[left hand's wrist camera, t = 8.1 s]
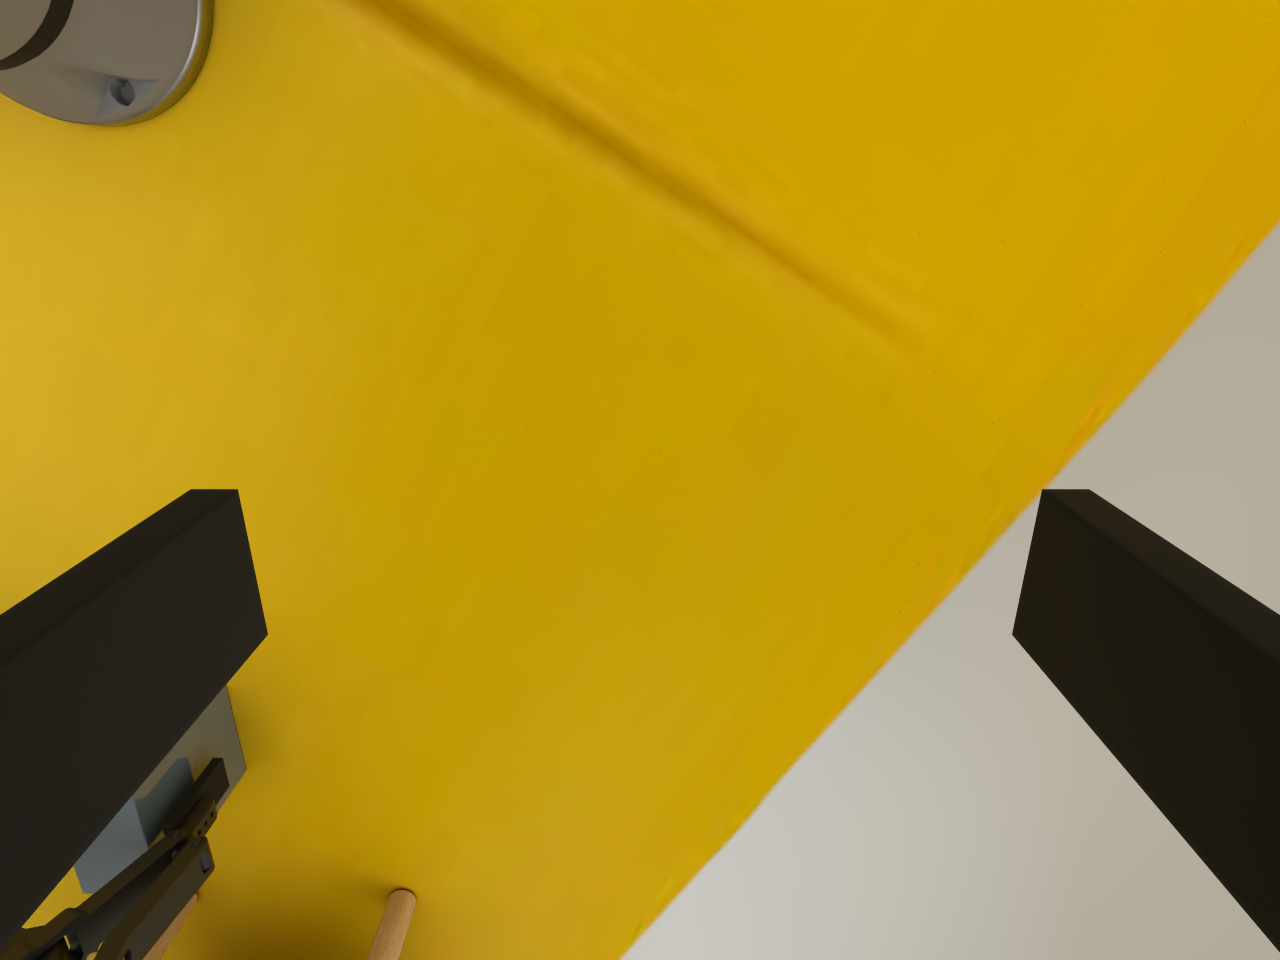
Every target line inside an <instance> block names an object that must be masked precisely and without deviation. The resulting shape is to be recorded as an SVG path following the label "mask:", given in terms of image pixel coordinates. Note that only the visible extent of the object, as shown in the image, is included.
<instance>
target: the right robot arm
mask: <svg viewBox="0 0 1280 960" xmlns="http://www.w3.org/2000/svg"><path fill="white" fill-rule="evenodd" d="M229 786H230V784H229V780H228V776H227V772H226V768H225V764H224V760H223V758H212V760H211V761H210V762H209V764H208V765H207V766H206V768H205V769H204V770H203V772H202V773H201V774H200V776H199V777H198V778H197V779H196V781H195V782H194V783H193V785H192V786H191V787H190V789H189V790H188V791H187V793H186V794H185V795H184V797H183V798H182V799H181V801H180V802H179V803H178V805H177V806H176V807H175V809H174V810H173V811H172V813H171V814H170V815H169V817H168V818H167V819H166V821H165V822H164V823H163V824H162V829H163V832H164V835H165V837H163V838H162V839H161V840H160V841H158V842H157V843H156V844H155V845H153V846H152V847H151V848H150V849H148V850H147V851H146V852H145V853H144V854H142V855H141V856H140V857H139V858H137V859H136V860H135V861H134V862H132V863H131V864H130V865H129V866H128V867H126V868H125V869H124V870H123V871H121V872H120V873H119V874H118V875H116V876H115V877H114V878H113V879H112V880H110V881H109V882H108V883H107V884H105V885H104V886H103V887H102V888H100V889H99V890H98V891H97V892H95V893H94V894H93V895H92V896H91V897H89V898H88V899H87V900H86V901H84V902H83V903H82V904H81V905H79V906H78V907H77V908H67V909H65V910H64V911H62V912H61V913H60V914H58V915H57V916H56V917H55V918H53V919H52V920H51V921H50V922H48V923H47V924H46V925H45V926H38V927H33V928H29V929H24V928H20V929H19V931H18V932H17V933H16V934H15V935H14V937H13V938H12V939H11V940H10V941H9V942H8V944H7V945H6V946H5V947H4V948H3V950H2V951H1V952H0V960H143V959H144V957H145V956H146V955H147V954H148V952H149V951H150V950H151V949H152V947H153V946H154V945H155V943H156V942H157V941H158V940H159V938H160V937H161V936H162V935H163V933H164V932H165V931H166V930H167V928H168V927H169V926H170V925H171V923H172V922H173V921H174V920H175V918H176V917H177V916H178V915H179V913H180V912H181V911H182V909H183V908H184V907H185V906H186V904H187V903H188V902H189V901H190V899H191V898H192V897H193V896H194V894H195V893H196V892H197V891H198V889H199V888H200V887H201V886H202V884H203V883H204V882H205V880H206V879H207V878H208V877H209V875H210V874H211V873H212V872H213V870H214V868H215V865H214V862H213V858H212V854H211V851H210V847H209V843H208V840H207V838H206V837H205V835H206V833H207V832H208V830H209V829H210V827H211V826H212V824H213V823H214V821H215V820H216V818H217V810H216V805H217V804H218V802H219V801H220V799H221V798H222V796H223V795H224V794H225V792H226V791H227V789H228V788H229ZM65 935H66V936H67V939H68V942H69V944H70V950H69V948H68V946H67V943H66V941H65V938H64V936H65ZM104 940H105V941H104ZM103 941H104V942H103ZM102 942H103V943H102ZM101 943H102V945H101V947H100V949H99V950H98V947H99V945H100V944H101ZM97 950H98V952H97Z"/></svg>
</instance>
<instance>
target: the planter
mask: <svg viewBox="0 0 1280 960" xmlns="http://www.w3.org/2000/svg"><path fill="white" fill-rule="evenodd" d="M196 902H197V894H196V893H195V894H194V896H193V897H192V898H191V899H190V901H189V902H188V903H187V904H186V906H185V907H184V908H183V909H182V911H181V912H180V913H179V915H178V916H177V917H176V918H175V920H174V921H173V922H172V923H171V925H170V926H169V927H168V928H167V930H166V931H165V932H164V933H163V935H162V936H161V937H160V938H159V940H158V941H157V942H156V943H155V945H154V946H153V947H152V949H151V950H150V951H149V952H148V954H147V955H146V956H145V957H144V959H143V960H161V958H162V956H163V955H164V953H165V952H166V950H167V948H168V947H169V945H170V944H171V942H172V940H173V939H174V937H175V936H176V934H177V932H178V931H179V929H180V928H181V926H182V924H183V923H184V921H185V920H186V918H187V916H188V915H189V913H190V912H191V910H192V908H193V907H194V905H195V904H196ZM415 905H416V898H415V896H414V895H413V894H412V893H410V892H408V891H406V890H397V891H394V892H393V893H392V894H391V895H390V896H389V899H388V902H387V905H386V907H385V910H384V913H383V916H382V919H381V921H380V924H379V927H378V930H377V933H376V935H375V938H374V941H373V944H372V947H371V949H370V952H369V955H368V958H367V960H398V958H399V955H400V952H401V949H402V946H403V943H404V939H405V936H406V933H407V930H408V927H409V924H410V920H411V917H412V914H413V911H414V908H415Z"/></svg>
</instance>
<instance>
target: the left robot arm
mask: <svg viewBox="0 0 1280 960" xmlns="http://www.w3.org/2000/svg"><path fill="white" fill-rule="evenodd" d="M212 22H213V0H0V93H2V94H4V95H5V96H7V97H9V98H10V99H12V100H14V101H16V102H18V103H20V104H22V105H24V106H26V107H28V108H30V109H32V110H35V111H37V112H40V113H42V114H44V115H47V116H50V117H53V118H56V119H59V120H63V121H68V122H72V123H80V124H88V125H96V126H125V125H131V124H135V123H139V122H142V121H145V120H148V119H151V118H153V117H155V116H157V115H159V114H161V113H162V112H164V111H165V110H167V109H168V108H170V107H171V106H172V105H173V104H175V103H176V102H177V101H178V100H179V99H180V98H181V97H182V96H183V95H184V94H185V93H186V92H187V90H188V89H189V88H190V86H191V85H192V84H193V82H194V80H195V79H196V77H197V75H198V73H199V72H200V69H201V67H202V65H203V62H204V60H205V57H206V54H207V51H208V47H209V43H210V38H211V32H212ZM267 635H268V633H267V628H266V623H265V618H264V613H263V608H262V604H261V599H260V594H259V589H258V584H257V580H256V575H255V570H254V565H253V560H252V555H251V551H250V546H249V541H248V536H247V531H246V527H245V522H244V517H243V512H242V507H241V503H240V498H239V493H238V489H191V490H189V491H188V492H186V493H185V494H183V495H182V496H180V497H178V498H177V499H175V500H174V501H172V502H171V503H169V504H168V505H166V506H165V507H163V508H162V509H160V510H159V511H157V512H156V513H154V514H153V515H151V516H150V517H148V518H147V519H145V520H144V521H142V522H141V523H139V524H138V525H136V526H135V527H133V528H131V529H130V530H128V531H127V532H125V533H124V534H122V535H121V536H119V537H118V538H116V539H115V540H113V541H112V542H110V543H109V544H107V545H106V546H104V547H103V548H101V549H100V550H98V551H97V552H95V553H94V554H92V555H91V556H89V557H88V558H86V559H85V560H83V561H81V562H80V563H78V564H77V565H75V566H74V567H72V568H71V569H69V570H68V571H66V572H65V573H63V574H62V575H60V576H59V577H57V578H56V579H54V580H53V581H51V582H50V583H48V584H47V585H45V586H44V587H42V588H41V589H39V590H38V591H36V592H34V593H33V594H31V595H30V596H28V597H27V598H25V599H24V600H22V601H21V602H19V603H18V604H16V605H15V606H13V607H12V608H10V609H9V610H7V611H6V612H4V613H3V614H1V615H0V952H1V951H2V950H3V948H4V947H5V946H6V945H7V944H8V942H9V941H10V940H11V939H12V938H13V937H14V935H15V934H16V933H17V932H18V931H19V929H20V928H21V927H22V926H23V925H24V923H25V922H26V921H27V920H28V919H29V918H30V916H31V915H32V914H33V913H34V912H35V910H36V909H37V908H38V907H39V906H40V904H41V903H42V902H43V901H44V900H45V899H46V897H47V896H48V895H49V894H50V893H51V891H52V890H53V889H54V888H55V887H56V885H57V884H58V883H59V882H60V881H61V880H62V878H63V877H64V876H65V875H66V874H67V872H68V871H69V870H70V869H71V868H72V866H73V865H74V864H75V863H76V862H77V861H78V859H79V858H80V857H81V856H82V855H83V853H84V852H85V851H86V850H87V849H88V848H89V846H90V845H91V844H92V843H93V842H94V840H95V839H96V838H97V837H98V836H99V834H100V833H101V832H102V831H103V830H104V829H105V827H106V826H107V825H108V824H109V823H110V821H111V820H112V819H113V818H114V817H115V815H116V814H117V813H118V812H119V811H120V810H121V808H122V807H123V806H124V805H125V804H126V802H127V801H128V800H129V799H130V798H131V796H132V795H133V794H134V793H135V792H136V791H137V789H138V788H139V787H140V786H141V785H142V783H143V782H144V781H145V780H146V779H147V777H148V776H149V775H150V774H151V773H152V772H153V770H154V769H155V768H156V767H157V766H158V764H159V763H160V762H161V761H162V760H163V759H164V757H165V756H166V755H167V754H168V753H169V751H170V750H171V749H172V748H173V747H174V745H175V744H176V743H177V742H178V741H179V740H180V738H181V737H182V736H183V735H184V734H185V732H186V731H187V730H188V729H189V728H190V726H191V725H192V724H193V723H194V722H195V721H196V719H197V718H198V717H199V716H200V715H201V713H202V712H203V711H204V710H205V709H206V707H207V706H208V705H209V704H210V703H211V702H212V700H213V699H214V698H215V697H216V696H217V694H218V693H219V692H220V691H221V690H222V688H223V687H224V686H225V685H226V684H227V683H228V681H229V680H230V679H231V678H232V677H233V675H234V674H235V673H236V672H237V671H238V670H239V668H240V667H241V666H242V665H243V664H244V662H245V661H246V660H247V659H248V658H249V656H250V655H251V654H252V653H253V652H254V651H255V649H256V648H257V647H258V646H259V645H260V643H261V642H262V641H263V640H264V639H265V637H266V636H267ZM1012 635H1013V636H1014V637H1015V639H1016V640H1017V641H1018V642H1019V643H1020V645H1021V646H1022V647H1023V648H1024V649H1025V651H1026V652H1027V653H1028V654H1029V655H1030V656H1031V658H1032V659H1033V660H1034V661H1035V662H1036V664H1037V665H1038V666H1039V667H1040V668H1041V669H1042V671H1043V672H1044V673H1045V674H1046V675H1047V677H1048V678H1049V679H1050V680H1051V681H1052V683H1053V684H1054V685H1055V686H1056V687H1057V688H1058V690H1059V691H1060V692H1061V693H1062V694H1063V696H1064V697H1065V698H1066V699H1067V700H1068V702H1069V703H1070V704H1071V705H1072V706H1073V707H1074V709H1075V710H1076V711H1077V712H1078V713H1079V715H1080V716H1081V717H1082V718H1083V719H1084V721H1085V722H1086V723H1087V724H1088V725H1089V726H1090V728H1091V729H1092V730H1093V731H1094V732H1095V733H1096V735H1097V736H1098V737H1099V738H1100V739H1101V741H1102V742H1103V743H1104V744H1105V745H1106V747H1107V748H1108V749H1109V750H1110V751H1111V753H1112V754H1113V755H1114V756H1115V757H1116V758H1117V760H1118V761H1119V762H1120V763H1121V764H1122V766H1123V767H1124V768H1125V769H1126V770H1127V772H1128V773H1129V774H1130V775H1131V776H1132V777H1133V779H1134V780H1135V781H1136V782H1137V783H1138V785H1139V786H1140V787H1141V788H1142V789H1143V790H1144V792H1145V793H1146V794H1147V795H1148V796H1149V798H1150V799H1151V800H1152V801H1153V802H1154V804H1155V805H1156V806H1157V807H1158V808H1159V809H1160V811H1161V812H1162V813H1163V814H1164V815H1165V817H1166V818H1167V819H1168V820H1169V821H1170V822H1171V824H1172V825H1173V826H1174V827H1175V829H1176V830H1177V831H1178V832H1179V833H1180V834H1181V836H1182V837H1183V838H1184V839H1185V840H1186V842H1187V843H1188V844H1189V845H1190V846H1191V847H1192V849H1193V850H1194V851H1195V852H1196V853H1197V855H1198V856H1199V857H1200V858H1201V859H1202V861H1203V862H1204V863H1205V864H1206V865H1207V866H1208V868H1209V869H1210V870H1211V871H1212V872H1213V874H1214V875H1215V876H1216V877H1217V878H1218V880H1219V881H1220V882H1221V883H1222V884H1223V885H1224V887H1225V888H1226V889H1227V890H1228V891H1229V892H1230V894H1231V895H1232V896H1233V897H1234V899H1235V900H1236V901H1237V902H1238V903H1239V904H1240V906H1241V907H1242V908H1243V909H1244V910H1245V912H1246V913H1247V914H1248V915H1249V916H1250V918H1251V919H1252V920H1253V921H1254V922H1255V923H1256V925H1257V926H1258V927H1259V928H1260V929H1261V931H1262V932H1263V933H1264V934H1265V935H1266V937H1267V938H1268V939H1269V940H1270V941H1271V942H1272V944H1273V945H1274V946H1275V947H1276V948H1277V950H1278V951H1279V952H1280V615H1279V614H1277V613H1276V612H1274V611H1273V610H1271V609H1270V608H1268V607H1267V606H1265V605H1264V604H1262V603H1261V602H1259V601H1258V600H1256V599H1255V598H1253V597H1252V596H1250V595H1248V594H1247V593H1246V592H1244V591H1242V590H1241V589H1239V588H1238V587H1236V586H1235V585H1233V584H1232V583H1230V582H1229V581H1227V580H1226V579H1224V578H1223V577H1221V576H1220V575H1218V574H1217V573H1215V572H1214V571H1212V570H1211V569H1209V568H1208V567H1206V566H1205V565H1203V564H1201V563H1200V562H1199V561H1197V560H1195V559H1194V558H1192V557H1191V556H1189V555H1188V554H1186V553H1185V552H1183V551H1182V550H1180V549H1179V548H1177V547H1176V546H1174V545H1173V544H1171V543H1170V542H1168V541H1167V540H1165V539H1164V538H1162V537H1161V536H1159V535H1158V534H1156V533H1155V532H1153V531H1152V530H1150V529H1148V528H1147V527H1145V526H1144V525H1142V524H1141V523H1139V522H1138V521H1136V520H1135V519H1133V518H1132V517H1130V516H1129V515H1127V514H1126V513H1124V512H1123V511H1121V510H1120V509H1118V508H1117V507H1115V506H1114V505H1112V504H1111V503H1109V502H1108V501H1106V500H1104V499H1103V498H1101V497H1100V496H1098V495H1097V494H1095V493H1094V492H1092V491H1091V490H1089V489H1042V493H1041V498H1040V503H1039V508H1038V512H1037V517H1036V522H1035V527H1034V531H1033V536H1032V541H1031V546H1030V551H1029V555H1028V560H1027V565H1026V570H1025V575H1024V580H1023V584H1022V589H1021V594H1020V599H1019V604H1018V608H1017V613H1016V618H1015V623H1014V628H1013V633H1012Z"/></svg>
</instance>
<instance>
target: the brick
mask: <svg viewBox="0 0 1280 960" xmlns="http://www.w3.org/2000/svg"><path fill="white" fill-rule="evenodd" d="M212 758H223V760H224V764H225V768H226V772H227V776H228V780H229V784H230V786H229V788H228V789H227V791H226V792H225V794H224V795H223V796H222V798H221V799H220V801H219V802H218V804H217V805H216V810H217V813H218V811H219V810H220V808H221V807H222V805H223V804H224V803H225V801H226V800H227V798H228V797H229V795H230V794H231V792H232V791H233V789H234V788H235V786H236V785H237V783H238V782H239V781H240V779H241V778H242V776H243V775H244V773H245V772H246V767H245V763H244V759H243V754H242V750H241V746H240V742H239V737H238V733H237V729H236V725H235V721H234V716H233V712H232V708H231V704H230V699H229V695H228V691H227V687H226V685H225V686H224V687H223V688H222V690H221V691H220V692H219V693H218V694H217V696H216V697H215V698H214V699H213V700H212V702H211V703H210V704H209V705H208V706H207V707H206V709H205V710H204V711H203V712H202V713H201V715H200V716H199V717H198V718H197V719H196V721H195V722H194V723H193V724H192V725H191V726H190V728H189V729H188V730H187V731H186V732H185V734H184V735H183V736H182V737H181V738H180V740H179V741H178V742H177V743H176V744H175V745H174V747H173V748H172V749H171V750H170V751H169V753H168V754H167V755H166V756H165V757H164V759H163V760H162V761H161V762H160V763H159V764H158V766H157V767H156V768H155V769H154V770H153V772H152V773H151V774H150V775H149V776H148V777H147V779H146V780H145V781H144V782H143V783H142V785H141V786H140V787H139V788H138V789H137V791H136V792H135V793H134V794H133V795H132V796H131V798H130V799H129V800H128V801H127V802H126V804H125V805H124V806H123V807H122V808H121V810H120V811H119V812H118V813H117V814H116V815H115V817H114V818H113V819H112V820H111V821H110V823H109V824H108V825H107V826H106V827H105V829H104V830H103V831H102V832H101V833H100V834H99V836H98V837H97V838H96V839H95V840H94V842H93V843H92V844H91V845H90V846H89V848H88V849H87V850H86V851H85V852H84V853H83V855H82V856H81V857H80V858H79V859H78V861H77V862H76V863H75V864H74V865H73V866H74V869H75V872H76V875H77V877H78V880H79V883H80V886H81V888H82V891H83V893H84V894H94V893H95V892H97V891H98V890H99V889H100V888H102V887H103V886H104V885H105V884H107V883H108V882H109V881H110V880H112V879H113V878H114V877H115V876H116V875H118V874H119V873H120V872H121V871H123V870H124V869H125V868H126V867H128V866H129V865H130V864H131V863H132V862H134V861H135V860H136V859H137V858H139V857H140V856H141V855H142V854H144V853H145V852H146V851H147V850H148V849H150V848H151V847H152V846H153V845H155V844H156V843H157V842H158V841H160V840H161V839H162V838H163V837H165V835H164V832H163V829H162V824H163V823H164V822H165V821H166V819H167V818H168V817H169V815H170V814H171V813H172V811H173V810H174V809H175V807H176V806H177V805H178V803H179V802H180V801H181V799H182V798H183V797H184V795H185V794H186V793H187V791H188V790H189V789H190V787H191V786H192V785H193V783H194V782H195V781H196V779H197V778H198V777H199V776H200V774H201V773H202V772H203V770H204V769H205V768H206V766H207V765H208V764H209V762H210V761H211V760H212Z"/></svg>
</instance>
